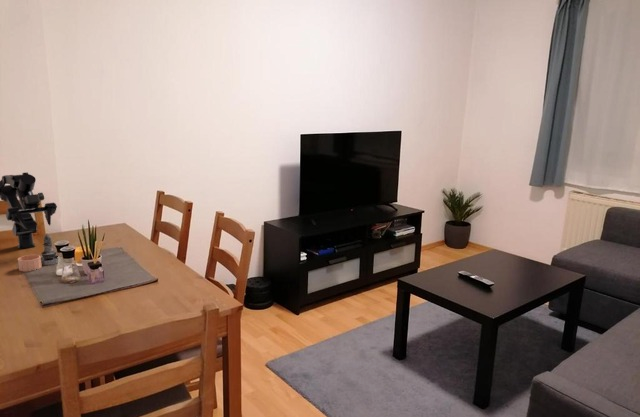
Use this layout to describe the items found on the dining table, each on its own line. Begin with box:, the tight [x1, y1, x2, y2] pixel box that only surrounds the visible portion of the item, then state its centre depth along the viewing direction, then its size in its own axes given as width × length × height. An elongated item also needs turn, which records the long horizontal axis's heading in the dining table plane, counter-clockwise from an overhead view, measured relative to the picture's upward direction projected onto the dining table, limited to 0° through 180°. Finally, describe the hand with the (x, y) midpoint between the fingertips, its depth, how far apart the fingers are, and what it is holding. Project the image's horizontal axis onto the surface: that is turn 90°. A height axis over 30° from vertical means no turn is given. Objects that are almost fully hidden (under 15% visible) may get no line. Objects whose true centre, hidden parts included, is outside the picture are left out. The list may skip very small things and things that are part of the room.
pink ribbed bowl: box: [17, 254, 43, 272], centre depth 187 cm, size 8×8×4 cm
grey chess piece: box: [40, 233, 58, 261], centre depth 194 cm, size 6×6×12 cm
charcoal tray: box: [41, 254, 58, 266], centre depth 195 cm, size 8×8×2 cm
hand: (38, 226), depth 199 cm, fingers open, 9 cm apart
